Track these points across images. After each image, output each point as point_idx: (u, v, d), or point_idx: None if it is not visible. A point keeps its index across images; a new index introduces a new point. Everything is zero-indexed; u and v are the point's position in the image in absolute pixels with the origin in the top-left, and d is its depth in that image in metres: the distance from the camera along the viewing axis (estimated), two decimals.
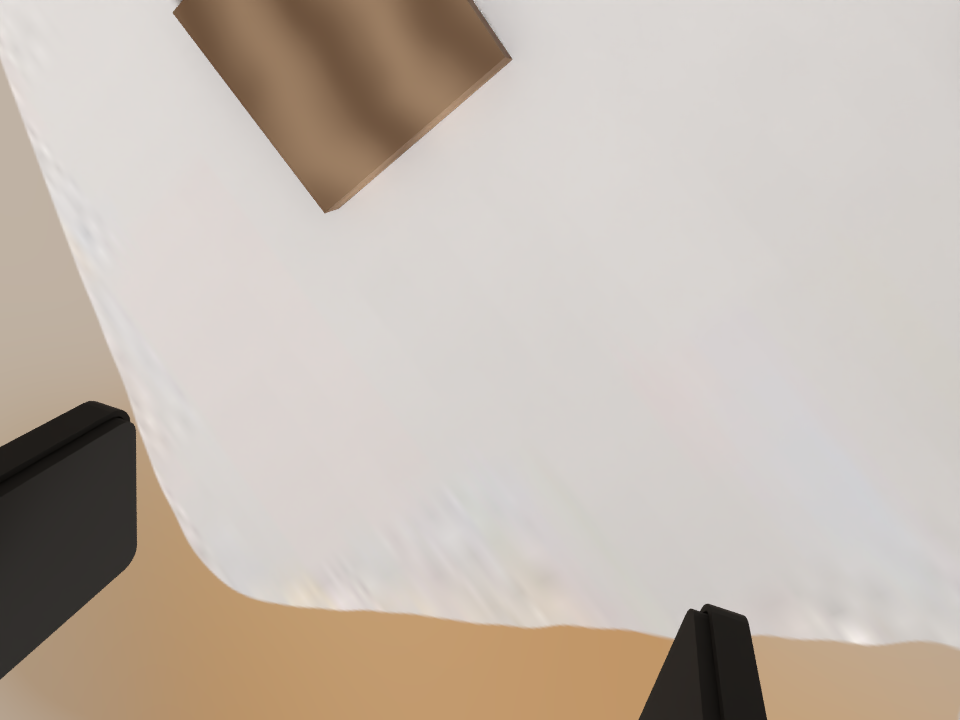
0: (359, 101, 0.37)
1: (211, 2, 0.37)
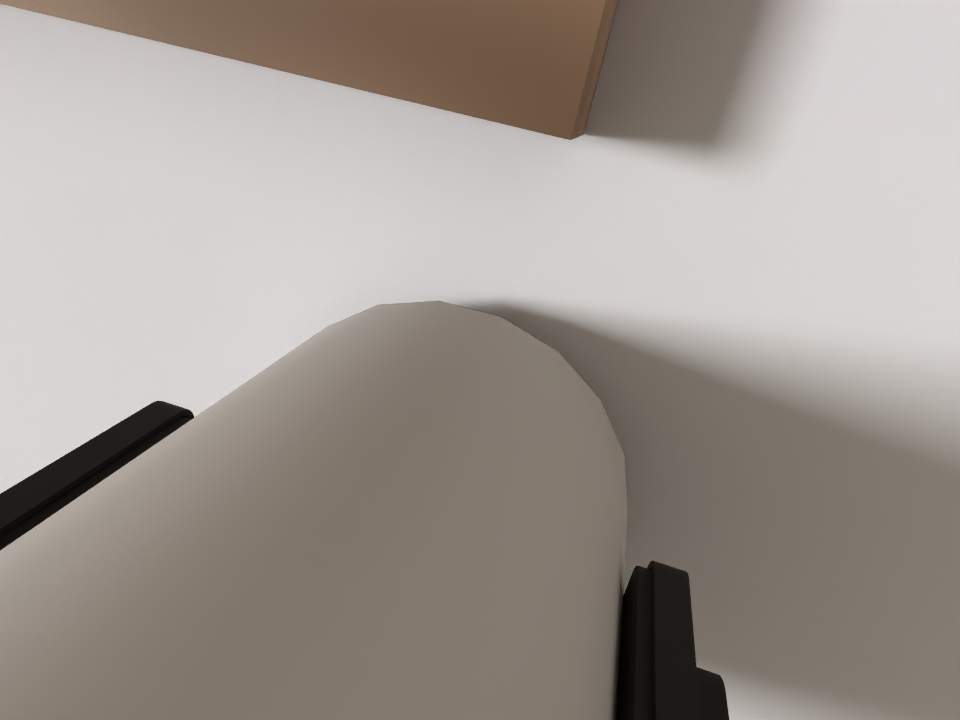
0: None
1: None
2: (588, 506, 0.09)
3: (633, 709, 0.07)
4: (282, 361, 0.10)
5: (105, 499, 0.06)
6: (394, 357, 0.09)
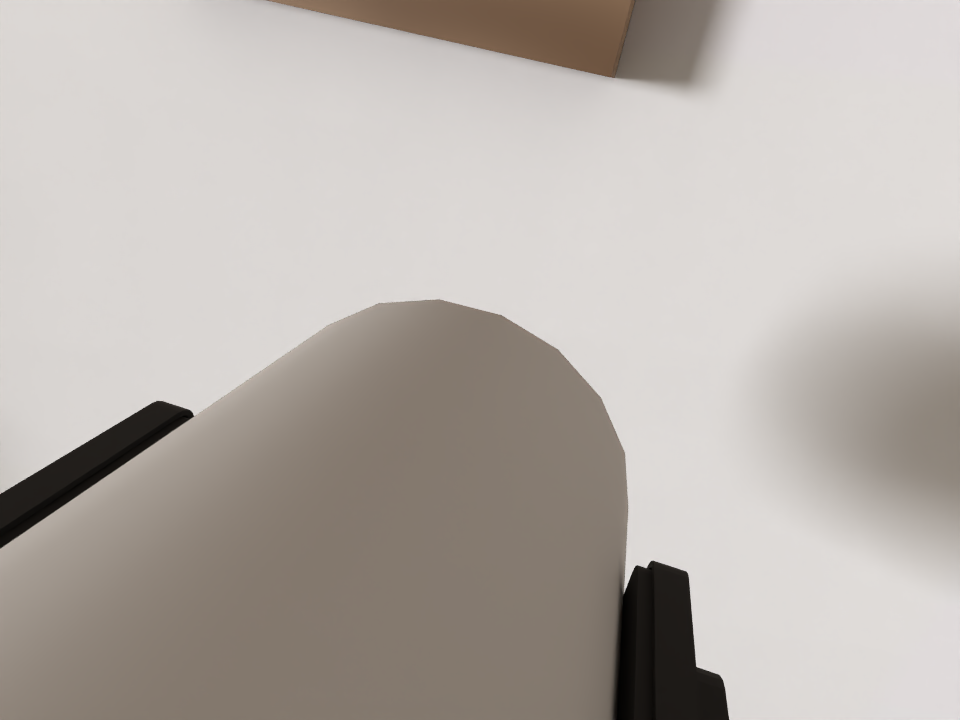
0: None
1: None
2: (588, 504, 0.09)
3: (633, 709, 0.07)
4: (283, 359, 0.10)
5: (107, 496, 0.06)
6: (395, 355, 0.09)
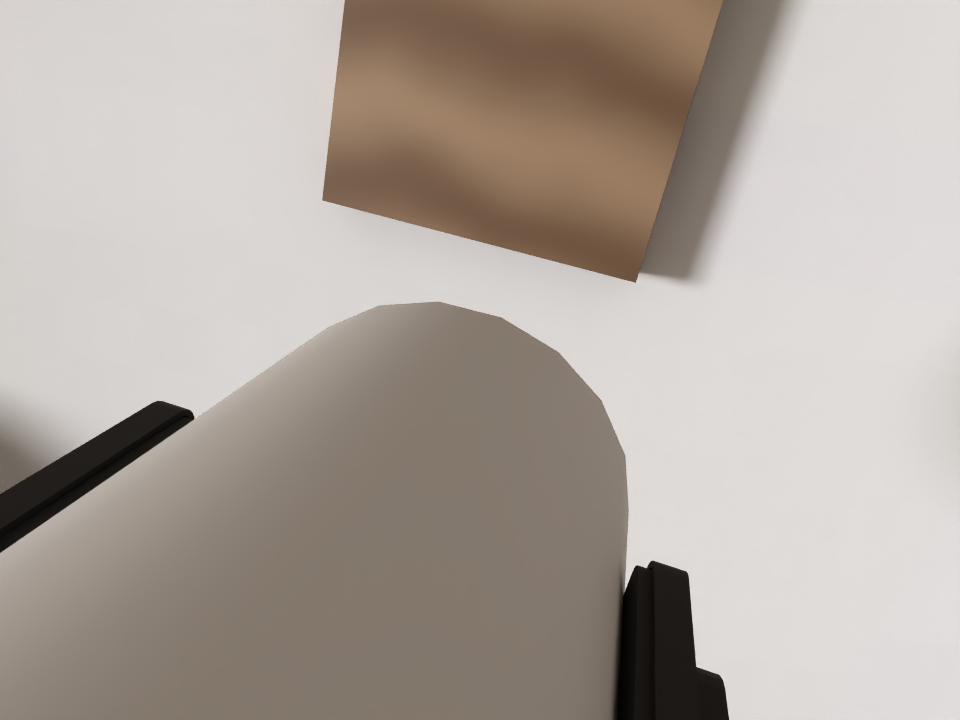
0: (425, 15, 0.25)
1: None
2: (589, 507, 0.09)
3: (633, 709, 0.07)
4: (283, 362, 0.10)
5: (106, 501, 0.06)
6: (394, 357, 0.09)
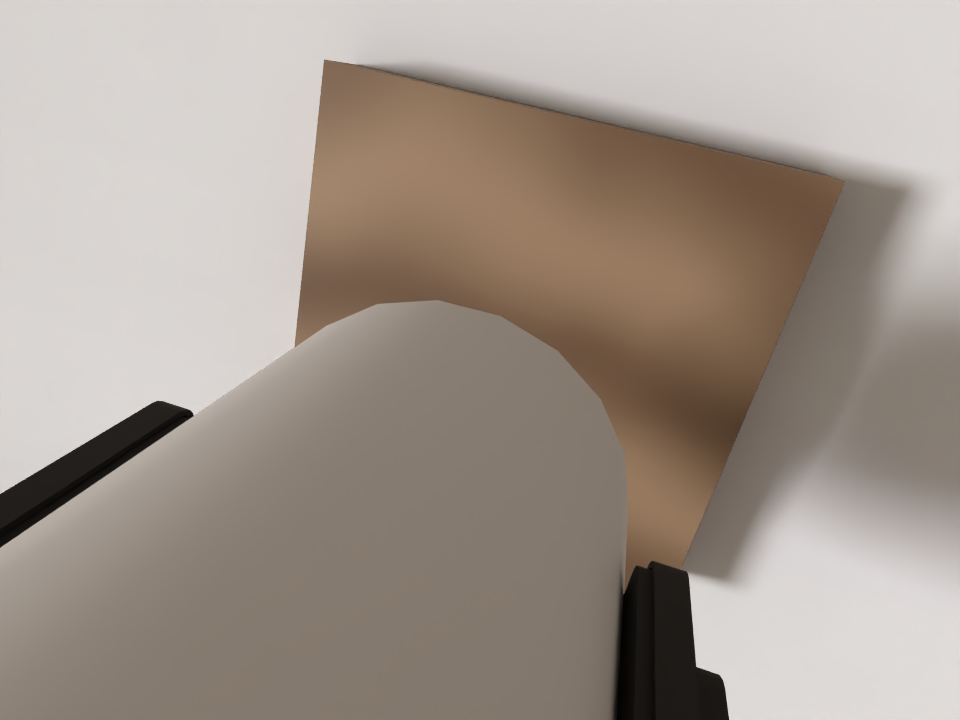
0: (403, 295, 0.20)
1: (758, 259, 0.17)
2: (589, 506, 0.09)
3: (633, 709, 0.07)
4: (280, 360, 0.10)
5: (100, 500, 0.06)
6: (392, 356, 0.09)
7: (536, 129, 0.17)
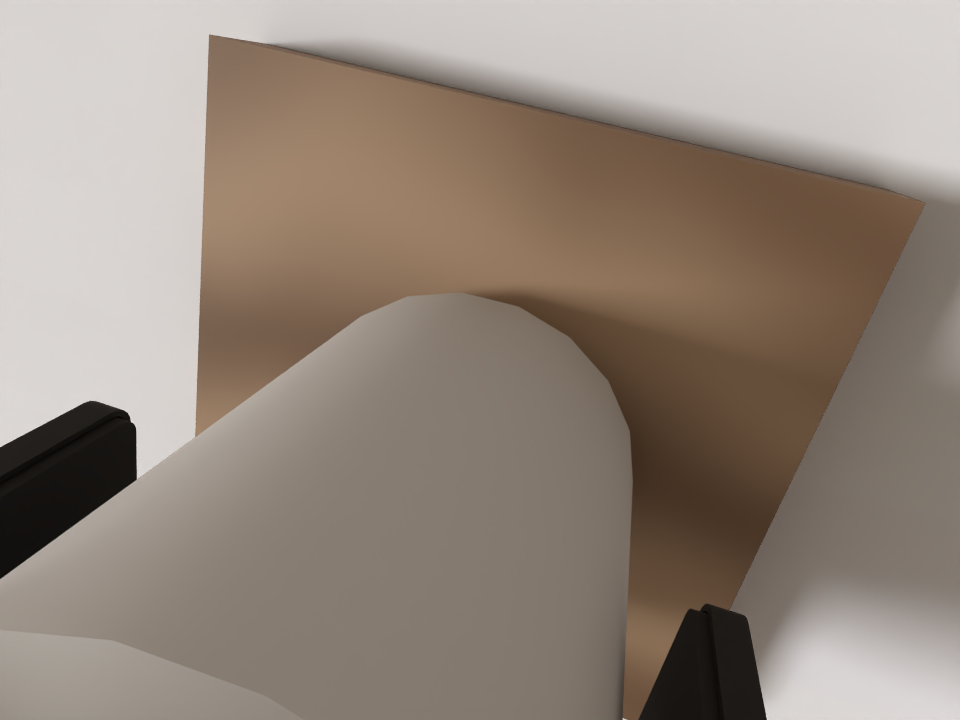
0: None
1: (799, 308, 0.13)
2: (599, 468, 0.10)
3: None
4: (326, 345, 0.12)
5: (205, 450, 0.08)
6: (428, 339, 0.11)
7: (494, 129, 0.13)
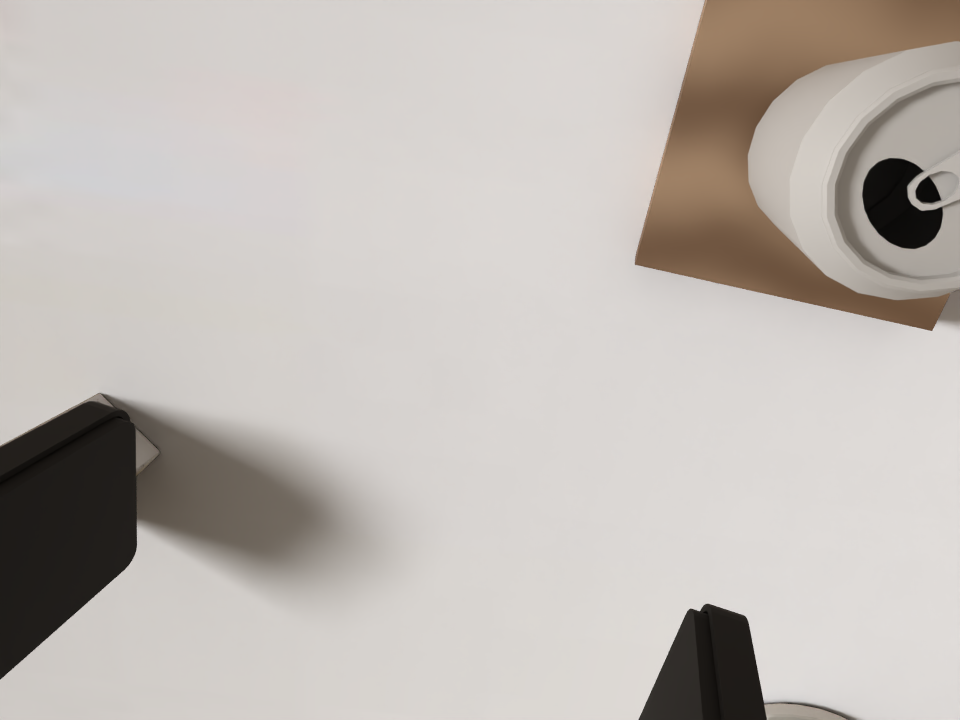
0: (757, 108, 0.29)
1: None
2: None
3: None
4: (816, 74, 0.25)
5: (870, 58, 0.21)
6: None
7: None
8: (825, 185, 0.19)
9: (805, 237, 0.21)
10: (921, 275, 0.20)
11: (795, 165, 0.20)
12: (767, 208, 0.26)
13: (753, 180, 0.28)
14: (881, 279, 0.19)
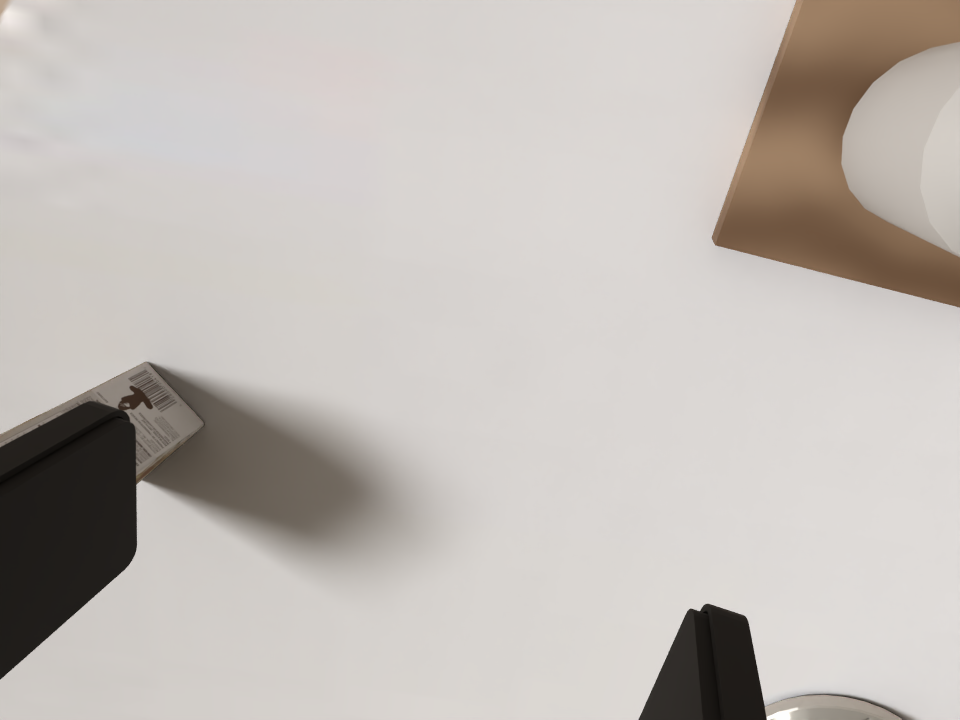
0: (854, 90, 0.29)
1: None
2: None
3: None
4: (927, 54, 0.25)
5: None
6: None
7: None
8: None
9: (935, 210, 0.21)
10: None
11: (931, 136, 0.20)
12: (870, 187, 0.26)
13: (851, 161, 0.28)
14: None
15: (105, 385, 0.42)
